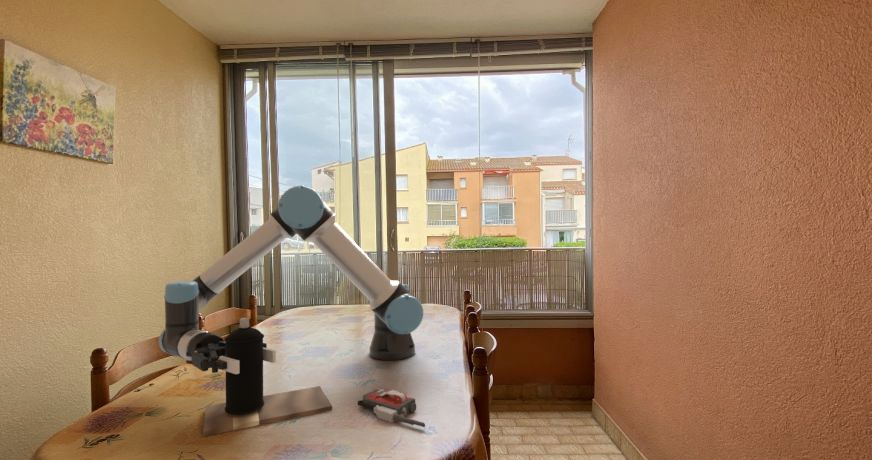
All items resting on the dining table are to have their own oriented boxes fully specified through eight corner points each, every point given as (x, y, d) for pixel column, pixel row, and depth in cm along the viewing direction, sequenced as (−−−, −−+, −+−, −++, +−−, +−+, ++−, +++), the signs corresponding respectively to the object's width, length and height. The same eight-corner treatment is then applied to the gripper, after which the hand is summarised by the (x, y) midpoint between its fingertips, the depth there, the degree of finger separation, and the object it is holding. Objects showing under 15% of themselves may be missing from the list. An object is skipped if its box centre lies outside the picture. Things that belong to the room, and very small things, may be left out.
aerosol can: (272, 402, 97) (272, 316, 97) (245, 417, 90) (244, 323, 89) (244, 397, 100) (244, 313, 100) (215, 411, 92) (215, 321, 92)
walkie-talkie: (350, 412, 96) (421, 434, 85) (350, 392, 96) (421, 412, 85) (375, 399, 104) (444, 418, 93) (375, 381, 104) (444, 398, 93)
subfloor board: (319, 389, 109) (319, 386, 109) (332, 410, 97) (332, 405, 97) (205, 410, 97) (205, 406, 97) (203, 436, 85) (202, 431, 85)
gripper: (241, 351, 113) (296, 365, 101) (155, 374, 96) (209, 394, 83) (241, 323, 113) (296, 334, 101) (155, 341, 96) (208, 357, 83)
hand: (256, 361), depth 92 cm, fingers closed on aerosol can, 8 cm apart
